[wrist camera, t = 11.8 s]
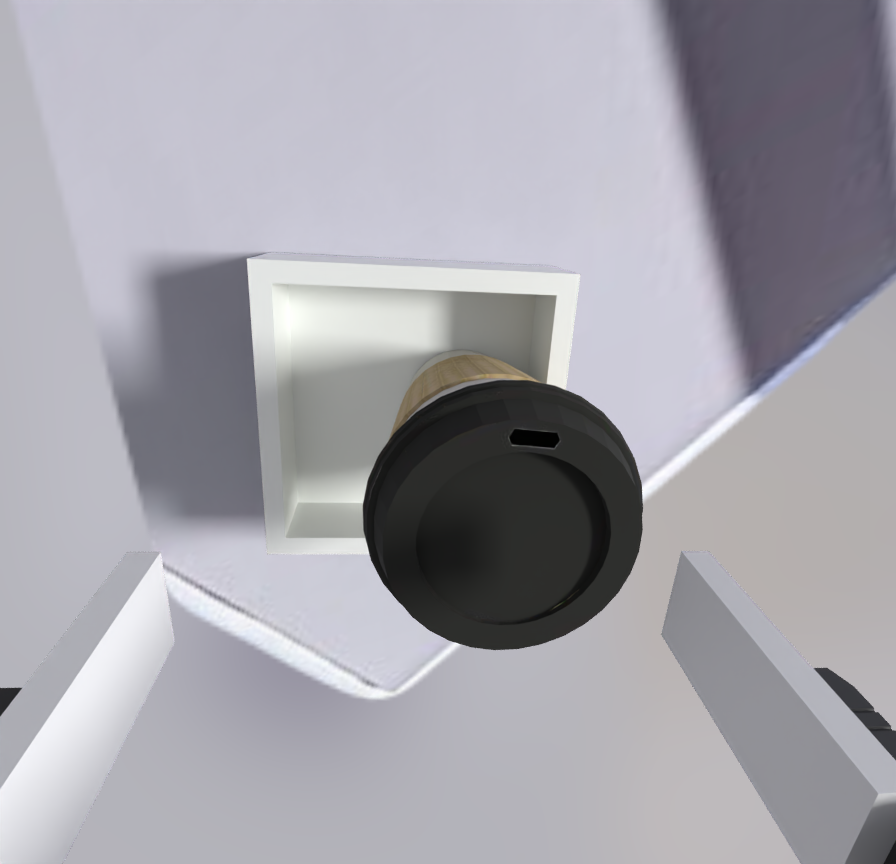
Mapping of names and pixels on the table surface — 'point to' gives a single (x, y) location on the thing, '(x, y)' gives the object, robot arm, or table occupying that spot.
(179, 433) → the table surface
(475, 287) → the bin
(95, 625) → the robot arm
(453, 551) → the coffee cup
